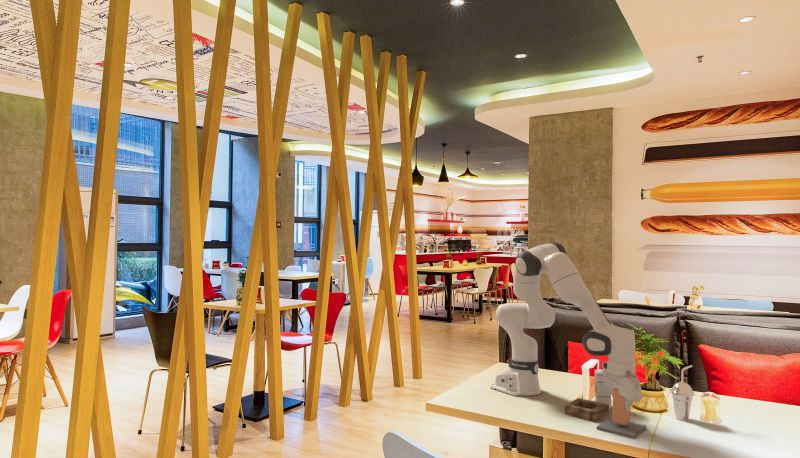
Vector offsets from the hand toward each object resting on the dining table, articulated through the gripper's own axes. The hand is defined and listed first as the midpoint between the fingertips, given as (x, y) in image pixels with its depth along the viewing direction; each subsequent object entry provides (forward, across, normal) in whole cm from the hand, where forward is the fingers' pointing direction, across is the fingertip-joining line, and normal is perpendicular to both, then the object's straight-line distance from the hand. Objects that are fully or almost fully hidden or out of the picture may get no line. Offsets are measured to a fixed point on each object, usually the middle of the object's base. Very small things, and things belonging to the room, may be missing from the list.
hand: (621, 406), depth 199 cm
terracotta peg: (+6, 0, 0) cm, 6 cm away
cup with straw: (+8, +7, -29) cm, 31 cm away
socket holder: (+8, +17, +5) cm, 19 cm away
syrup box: (+8, +24, -6) cm, 26 cm away
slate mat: (+8, 0, 0) cm, 8 cm away
